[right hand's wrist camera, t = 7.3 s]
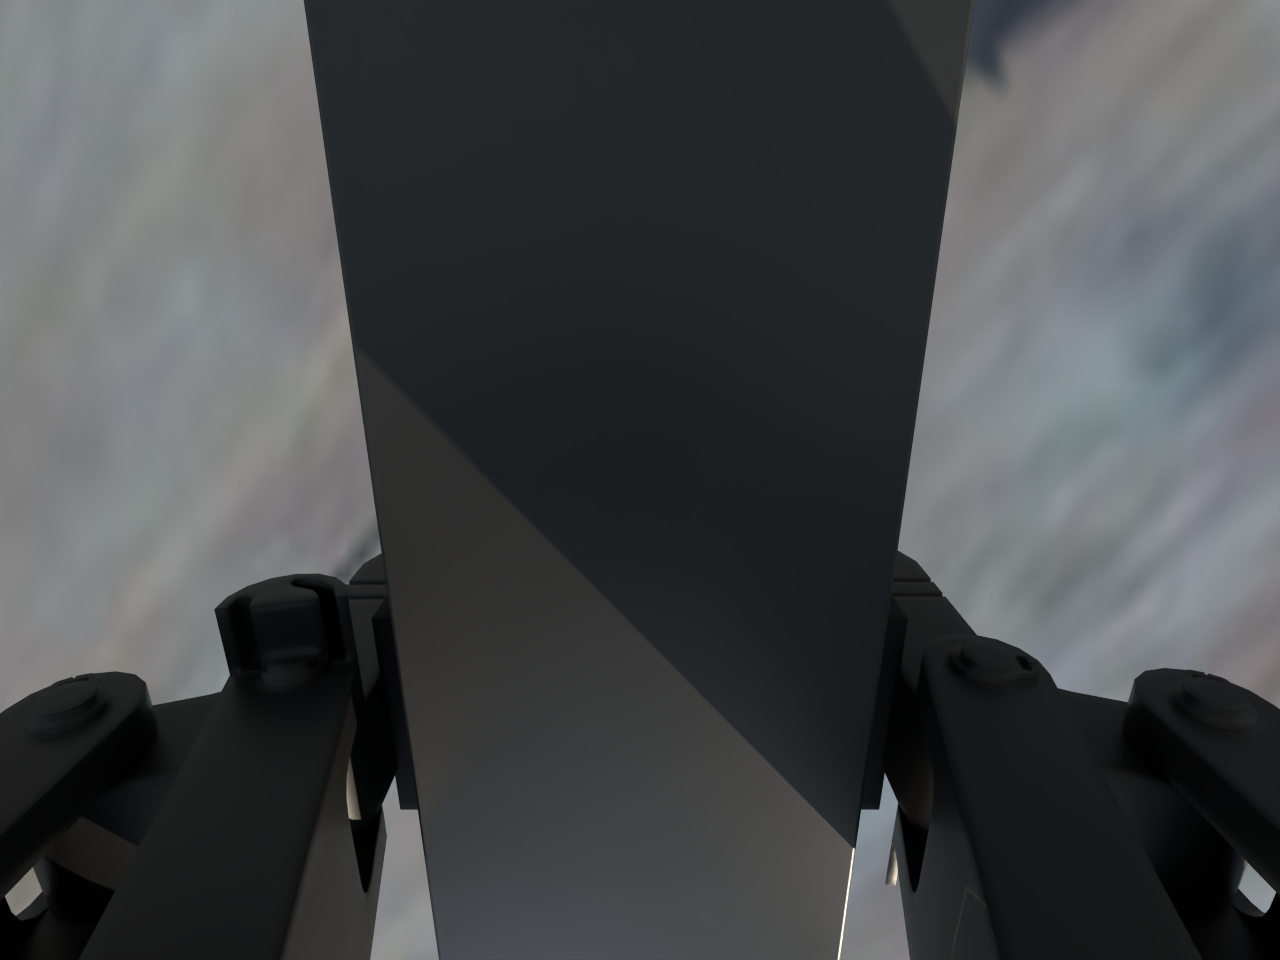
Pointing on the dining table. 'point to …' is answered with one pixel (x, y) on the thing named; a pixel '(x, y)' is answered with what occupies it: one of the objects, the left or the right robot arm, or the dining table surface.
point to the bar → (639, 439)
